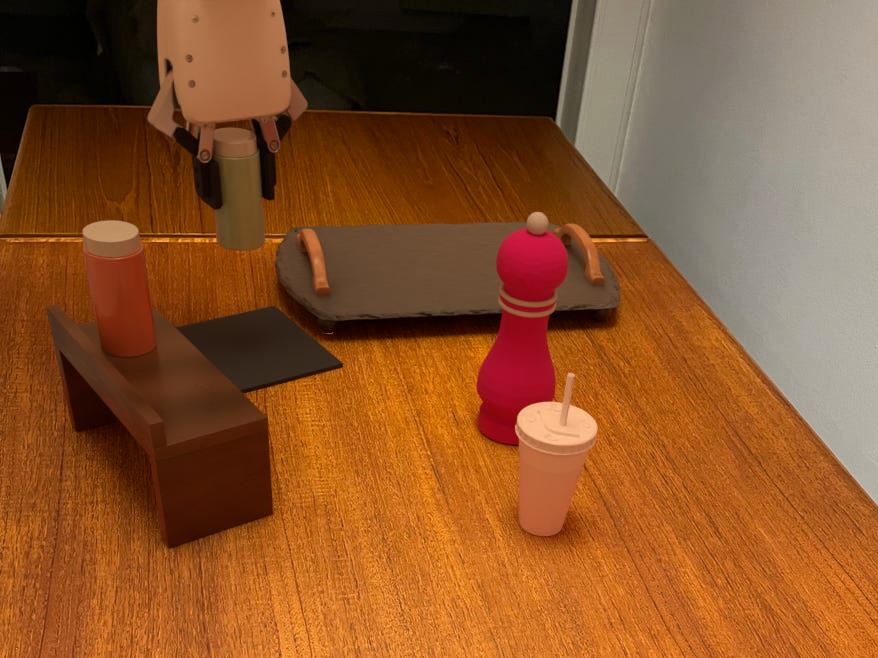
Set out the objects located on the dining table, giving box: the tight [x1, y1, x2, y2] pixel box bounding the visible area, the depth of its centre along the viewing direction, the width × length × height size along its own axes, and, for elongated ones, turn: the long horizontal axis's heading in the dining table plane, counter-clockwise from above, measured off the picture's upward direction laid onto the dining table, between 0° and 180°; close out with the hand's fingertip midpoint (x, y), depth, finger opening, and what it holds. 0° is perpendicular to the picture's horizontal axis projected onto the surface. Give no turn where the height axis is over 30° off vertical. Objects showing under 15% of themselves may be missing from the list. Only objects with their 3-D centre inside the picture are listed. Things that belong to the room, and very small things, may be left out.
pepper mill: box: [476, 211, 568, 446], centre depth 88 cm, size 7×7×20 cm
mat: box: [174, 305, 344, 394], centre depth 100 cm, size 14×14×1 cm
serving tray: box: [273, 221, 622, 333], centre depth 113 cm, size 39×23×6 cm, turn 106°
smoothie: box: [515, 372, 599, 537], centre depth 80 cm, size 6×6×14 cm
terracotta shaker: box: [82, 219, 157, 357], centre depth 78 cm, size 4×4×9 cm
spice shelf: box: [45, 303, 274, 549], centre depth 81 cm, size 20×9×11 cm, turn 37°
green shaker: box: [212, 127, 266, 252], centre depth 90 cm, size 4×4×9 cm
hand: (237, 197), depth 90 cm, fingers closed on green shaker, 4 cm apart
